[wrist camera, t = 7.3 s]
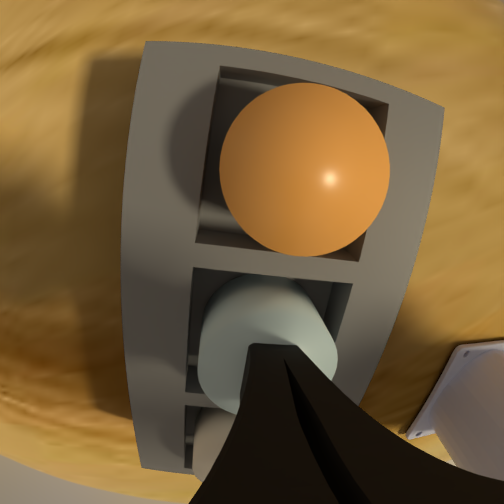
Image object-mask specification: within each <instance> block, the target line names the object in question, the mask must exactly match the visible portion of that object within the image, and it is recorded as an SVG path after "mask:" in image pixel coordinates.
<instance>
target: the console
mask: <svg viewBox="0 0 504 504" xmlns="http://www.w3.org/2000/svg"><path fill="white" fill-rule="evenodd" d="M293 83H315V84H321V85H326V86H329V87H332V88H335V89H337V90H339V91H341V92H343V93H345V94H347V95H349V96H350V97H352V98H353V99H355V100H356V101H357V102H358V103H359V104H361V105H362V106H363V107H364V108H365V109H366V110H367V111H368V113H369V114H370V115H371V116H372V118H373V119H374V120H375V122H376V123H377V125H378V127H379V129H380V131H381V133H382V135H383V137H384V140H385V143H386V146H387V150H388V154H389V163H390V178H389V186H388V190H387V194H386V198H385V200H384V203H383V205H382V208H381V209H380V211H379V213H378V215H377V217H376V218H375V220H374V221H373V222H372V224H371V225H370V226H369V227H368V228H367V230H366V231H365V232H364V233H363V234H362V235H360V236H359V237H358V238H357V239H356V240H354V241H353V242H351V243H350V244H348V245H347V246H345V247H343V248H341V249H339V250H336V251H333V252H331V253H328V254H323V255H318V256H308V257H303V256H292V255H287V254H283V253H279V252H276V251H274V250H271V249H269V248H267V247H265V246H263V245H262V244H260V243H259V242H257V241H256V240H254V239H253V238H252V237H251V236H249V235H248V234H247V233H246V232H245V231H244V230H243V229H242V228H241V226H240V225H239V224H238V223H237V221H236V220H235V218H234V217H233V215H232V214H231V212H230V210H229V208H228V206H227V204H226V201H225V198H224V195H223V192H222V188H221V183H220V171H219V167H220V155H221V151H222V146H223V143H224V140H225V137H226V134H227V132H228V130H229V128H230V127H231V125H232V123H233V121H234V120H235V119H236V117H237V116H238V114H239V113H240V112H241V111H242V110H243V109H244V108H245V107H246V106H247V105H248V104H249V103H250V102H251V101H253V100H254V99H255V98H257V97H258V96H260V95H261V94H263V93H265V92H267V91H269V90H271V89H274V88H276V87H279V86H283V85H287V84H293ZM443 118H444V107H442V106H440V105H437V104H435V103H433V102H431V101H429V100H426V99H424V98H422V97H419V96H417V95H414V94H412V93H410V92H407V91H405V90H402V89H400V88H397V87H394V86H392V85H389V84H386V83H383V82H381V81H378V80H375V79H372V78H369V77H366V76H363V75H360V74H357V73H353V72H350V71H347V70H343V69H340V68H336V67H333V66H329V65H325V64H321V63H318V62H314V61H309V60H305V59H301V58H296V57H292V56H287V55H282V54H277V53H271V52H266V51H260V50H254V49H247V48H240V47H232V46H224V45H214V44H203V43H189V42H167V41H146V42H145V46H144V51H143V55H142V60H141V65H140V70H139V75H138V80H137V85H136V91H135V97H134V103H133V109H132V115H131V122H130V130H129V137H128V146H127V155H126V164H125V175H124V188H123V203H122V223H121V305H122V326H123V340H124V353H125V364H126V373H127V382H128V390H129V398H130V405H131V412H132V418H133V425H134V431H135V436H136V442H137V447H138V452H139V457H140V462H141V467H142V468H146V469H152V470H159V471H166V472H174V473H182V474H192V475H194V473H193V469H192V465H193V445H194V428H195V418H196V416H197V414H198V412H199V411H200V410H201V409H202V408H203V407H210V408H220V407H219V406H217V405H216V404H214V403H213V402H212V401H211V400H210V399H209V398H208V397H207V395H206V394H205V393H204V391H203V389H202V388H201V385H200V383H199V379H198V357H199V347H200V336H201V326H202V318H203V313H204V310H205V307H206V305H207V303H208V301H209V300H210V298H211V297H212V295H213V294H214V293H215V292H216V291H217V290H218V289H219V288H220V287H222V286H223V285H224V284H226V283H227V282H229V281H231V280H233V279H235V278H237V277H240V276H243V275H247V274H261V275H270V276H280V277H287V278H289V279H291V280H293V281H294V282H296V283H297V284H299V285H300V286H301V287H302V288H303V289H304V290H305V291H306V292H307V294H308V295H309V297H310V299H311V300H312V302H313V304H314V306H315V308H316V309H317V311H318V313H319V315H320V317H321V319H322V320H323V322H324V324H325V326H326V328H327V330H328V331H329V333H330V335H331V337H332V339H333V341H334V343H335V346H336V349H337V357H338V361H337V368H336V371H335V374H334V376H333V379H332V382H333V383H334V384H335V385H336V386H337V387H338V388H339V389H340V390H341V391H342V392H343V393H344V394H345V395H346V396H347V397H349V398H350V399H351V400H352V401H353V402H354V403H355V404H356V405H358V406H359V404H360V402H361V400H362V398H363V396H364V393H365V391H366V389H367V387H368V385H369V383H370V381H371V379H372V376H373V374H374V372H375V370H376V367H377V365H378V363H379V360H380V358H381V356H382V353H383V351H384V348H385V346H386V344H387V341H388V339H389V336H390V333H391V331H392V328H393V326H394V323H395V320H396V318H397V315H398V312H399V309H400V306H401V304H402V301H403V298H404V295H405V292H406V289H407V286H408V283H409V279H410V276H411V273H412V270H413V266H414V263H415V260H416V256H417V253H418V249H419V245H420V242H421V238H422V234H423V230H424V226H425V222H426V218H427V213H428V209H429V204H430V200H431V195H432V190H433V185H434V180H435V174H436V169H437V163H438V156H439V150H440V143H441V135H442V127H443Z"/></svg>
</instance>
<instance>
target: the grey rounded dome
mask: <svg viewBox="0 0 504 504" xmlns="http://www.w3.org/2000/svg"><path fill="white" fill-rule="evenodd" d="M252 343H264V344H281V345H297V346H298V347H299V348H300V349H301V350H302V351H303V352H304V353H305V354H306V355H307V356H308V357H309V358H310V359H311V360H312V361H313V362H314V364H315V365H316V366H317V367H318V368H319V369H320V370H321V371H322V372H323V373H324V374H325V375H326V376H327V377H328V378H329V379H330V380H331V381H332V379H333V376H334V374H335V371H336V368H337V361H338V357H337V349H336V346H335V343H334V341H333V339H332V337H331V335H330V333H329V331H328V330H327V328H326V326H325V324H324V322H323V320H322V319H321V317H320V315H319V313H318V311H317V309H316V308H315V306H314V304H313V302H312V300H311V299H310V297H309V295H308V294H307V292H306V291H305V290H304V289H303V288H302V287H301V286H300V285H299V284H297V283H296V282H294V281H293V280H291V279H289V278H287V277H280V276H270V275H261V274H247V275H243V276H240V277H237V278H235V279H233V280H231V281H229V282H227V283H226V284H224V285H223V286H222V287H220V288H219V289H218V290H217V291H216V292H215V293H214V294H213V295H212V297H211V298H210V300H209V301H208V303H207V305H206V307H205V310H204V313H203V318H202V326H201V336H200V347H199V357H198V379H199V383H200V385H201V388H202V389H203V391H204V393H205V394H206V395H207V397H208V398H209V399H210V400H211V401H212V402H213V403H214V404H216V405H217V406H219V407H220V408H222V409H224V410H226V411H228V412H230V413H233V414H236V415H237V412H238V409H239V405H240V390H241V384H242V379H243V373H244V368H245V363H246V357H247V351H248V346H249V345H251V344H252Z"/></svg>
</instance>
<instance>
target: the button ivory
mask: <svg viewBox="0 0 504 504" xmlns="http://www.w3.org/2000/svg"><path fill="white" fill-rule="evenodd" d="M235 418H236V414H233V413H230V412H228V411H226V410H224V409H222V408H210V407H203V408H202V409H201V410H200V411H199V412H198V414H197V416H196V418H195V428H194V445H193V465H192V469H193V473H194V475H195V476H196V477H197V478H198V479H199V480H200V481H201V482H203V481H204V480H205V478H206V476H207V475H208V473H209V471H210V470H211V468H212V466H213V464H214V462H215V460H216V458H217V457H218V455H219V453H220V451H221V449H222V447H223V445H224V443H225V441H226V439H227V436H228V434H229V432H230V430H231V427H232V425H233V422H234V420H235Z"/></svg>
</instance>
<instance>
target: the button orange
mask: <svg viewBox="0 0 504 504" xmlns="http://www.w3.org/2000/svg"><path fill="white" fill-rule="evenodd" d="M219 171H220V183H221V188H222V192H223V195H224V198H225V201H226V204H227V206H228V208H229V210H230V212H231V214H232V215H233V217H234V218H235V220H236V221H237V223H238V224H239V225H240V226H241V228H242V229H243V230H244V231H245V232H246V233H247V234H248V235H249V236H251V237H252V238H253V239H254V240H256V241H257V242H259V243H260V244H262V245H263V246H265V247H267V248H269V249H271V250H274V251H276V252H279V253H283V254H287V255H292V256H303V257H308V256H318V255H323V254H328V253H331V252H333V251H336V250H339V249H341V248H343V247H345V246H347V245H348V244H350V243H351V242H353V241H354V240H356V239H357V238H358V237H359V236H360V235H362V234H363V233H364V232H365V231H366V230H367V228H368V227H369V226H370V225H371V224H372V222H373V221H374V220H375V218H376V217H377V215H378V213H379V211H380V209H381V208H382V205H383V203H384V200H385V198H386V194H387V190H388V186H389V178H390V163H389V154H388V150H387V146H386V143H385V140H384V137H383V135H382V133H381V131H380V129H379V127H378V125H377V123H376V122H375V120H374V119H373V118H372V116H371V115H370V114H369V113H368V111H367V110H366V109H365V108H364V107H363V106H362V105H361V104H359V103H358V102H357V101H356V100H355V99H353V98H352V97H350V96H349V95H347V94H345V93H343V92H341V91H339V90H337V89H335V88H332V87H329V86H326V85H321V84H315V83H293V84H287V85H283V86H279V87H276V88H274V89H271V90H269V91H267V92H265V93H263V94H261V95H260V96H258V97H257V98H255V99H254V100H253V101H251V102H250V103H249V104H248V105H247V106H246V107H245V108H244V109H243V110H242V111H241V112H240V113H239V114H238V116H237V117H236V119H235V120H234V121H233V123H232V125H231V127H230V128H229V130H228V132H227V134H226V137H225V140H224V143H223V146H222V151H221V155H220V167H219Z"/></svg>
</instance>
